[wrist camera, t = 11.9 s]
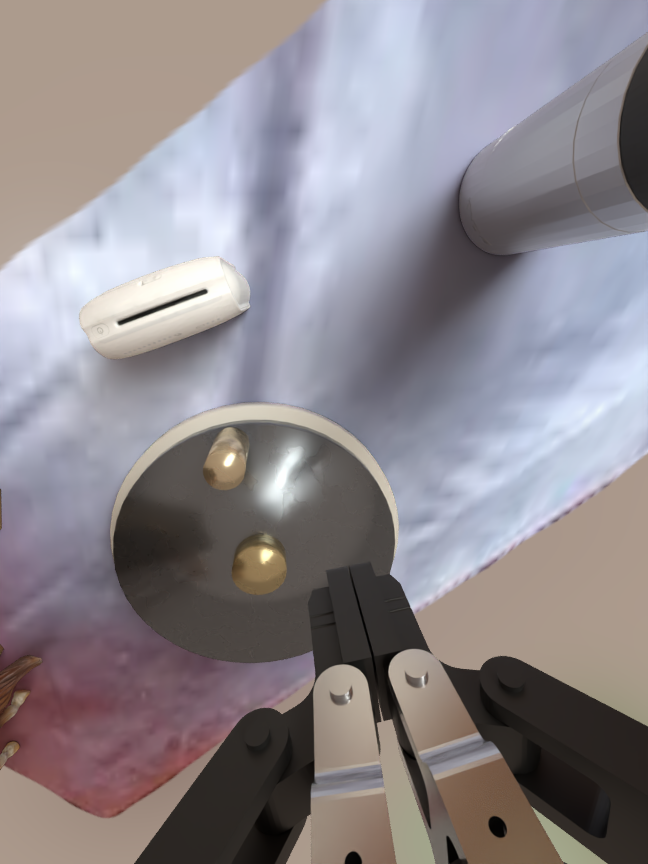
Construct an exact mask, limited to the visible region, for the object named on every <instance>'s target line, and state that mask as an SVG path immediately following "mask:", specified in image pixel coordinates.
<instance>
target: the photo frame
mask: <svg viewBox="0 0 648 864" xmlns="http://www.w3.org/2000/svg"><path fill="white" fill-rule="evenodd" d="M1 529H2V518H1V489H0V530H1ZM3 649H4V648H3V647H2V646H1V645H0V655H1V653H2V651H3Z"/></svg>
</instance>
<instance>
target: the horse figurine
mask: <svg viewBox="0 0 648 864" xmlns="http://www.w3.org/2000/svg"><path fill="white" fill-rule="evenodd" d="M41 663H42V660H41V658H38V657H34V656H32V655H27V656H23V657H21V658H19V659H18V660H16V661H15V662H14V663H12V664H11V665H9V666H8V667H7V668H5V669H4V670H3V671H1V672H0V728H1V727H2V726H3V725H4V724H5V723H6V722H7V721H8V720H9V719H10V718H12V717H13V716H14V715H15V714H16V712H17V711H18V708H19V707H20V705H22V704H23V703H24V701H25V699H26V697H27V696H28V695H29V694H30V691H29V690H18V691H16V692H15V693H14V697H13V699H12V701H11V704H12V705H10V706H8V707H7V708H6V709H5V707H6V706H7V704H8V702H9V701H10V698H11V695H12V691H13V689H14V687H15V685H16V684H17V682H18V681H19V680H20V679H21V678H22V677H23V676H25V675H26V674H27V673H28V672H29V671H30V670H32V669H33V668H34V667H36V666H38V665H40V664H41ZM4 709H5V710H4ZM2 712H3V713H2ZM18 749H19V744H18V743H17V742H13V741H12V742H9V743H8V744H7V745H6V746H5V748H4V750H3V751H2V754H0V770H1V768H2V767H3V766H4V764H5V763H6V761H7V759H8V758H9V757H11V756H13V755H14V753H16V752H17V750H18Z"/></svg>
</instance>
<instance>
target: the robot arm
mask: <svg viewBox="0 0 648 864" xmlns="http://www.w3.org/2000/svg"><path fill="white" fill-rule="evenodd" d="M459 211H460V218H461V221H462V224H463V227H464V230H465V232H466V233H467V235H468V237H469V238H470V240H471V241H472V242H473V243H474V244H475V245H476V246H477V247H479V248H480V249H482V250H484V251H485V252H488V253H491V254H494V255H511V254H517V253H523V252H528V251H536V250H542V249H547V248H553V247H559V246H565V245H570V244H576V243H582V242H588V241H593V240H599V239H605V238H611V237H616V236H622V235H628V234H634V233H639V232H645V231H648V32H647V33H646V34H644V35H643V36H641V37H640V38H638V39H637V40H636V41H634V42H633V43H631V44H630V45H629V46H627V47H626V48H625V49H623V50H622V51H621V52H619V53H618V54H616V55H615V56H614V57H612V58H611V59H609V60H608V61H606V62H605V63H604V64H602V65H601V66H599V67H598V68H597V69H595V70H594V71H592V72H591V73H589V74H588V75H587V76H585V77H584V78H582V79H581V80H580V81H578V82H577V83H575V84H574V85H572V86H571V87H570V88H568V89H567V90H565V91H564V92H563V93H561V94H560V95H558V96H557V97H555V98H554V99H553V100H551V101H550V102H548V103H547V104H546V105H544V106H543V107H541V108H540V109H538V110H537V111H536V112H534V113H533V114H531V115H530V116H529V117H527V118H526V119H524V120H523V121H521V122H520V123H519V124H517V125H516V126H514V127H513V128H511V129H510V130H508V131H507V132H506V133H504V134H503V135H502V136H500V137H499V138H497V139H496V140H495V141H493V142H492V143H490V144H489V145H488V146H486V147H485V148H483V149H482V150H481V152H480V153H479V154H478V155H477V156H476V157H475V158H474V159H473V161H472V162H471V164H470V166H469V167H468V169H467V171H466V173H465V176H464V178H463V181H462V185H461V189H460V194H459ZM349 573H350V575H349ZM326 574H327V579H328V585H329V587H324V588H319V589H314V590H313V591H312V594H311V596H310V599H309V601H308V608H309V617H310V627H311V636H312V645H313V654H314V663H315V675H316V677H315V682H314V686H313V688H312V690H311V692H310V693H309V695H308V696H307V697H306V698H305V699H304V701H302V702H301V703H300V704H298V705H297V706H295V707H294V708H292V709H291V710H289V711H287V712H285V713H284V714H281V713H280V712H278V711H277V710H274V709H271V708H260V709H257V710H254V711H252V712H250V713H248V714H247V715H245V716H244V717H243V718H242V719H241V720H240V721H239V722H238V723H237V724H236V726H235V727H234V728H233V730H232V731H231V733H230V734H229V735H228V737H227V738H226V739H225V741H224V742H223V743H222V745H221V746H220V747H219V749H218V750H217V752H216V753H215V754H214V756H213V757H212V758H211V760H210V761H209V762H208V764H207V765H206V767H205V768H204V769H203V771H202V772H201V773H200V775H199V776H198V778H197V779H196V780H195V782H194V783H193V784H192V786H191V787H190V788H189V790H188V791H187V793H186V794H185V795H184V797H183V798H182V799H181V801H180V802H179V803H178V805H177V806H176V807H175V809H174V810H173V812H172V813H171V814H170V816H169V817H168V818H167V820H166V821H165V822H164V824H163V825H162V827H161V828H160V829H159V831H158V832H157V833H156V835H155V836H154V838H153V839H152V840H151V841H150V843H149V845H148V846H147V847H146V848H145V850H144V851H143V852H142V854H141V855H140V857H139V858H138V859H137V861H136V862H135V863H134V864H286V862H287V860H288V858H289V856H290V854H291V852H292V850H293V848H294V846H295V844H296V842H297V840H298V838H299V835H300V834H301V832H302V829H303V827H304V825H305V822H306V819H307V816H308V815H310V814H311V864H396V859H395V851H394V845H393V839H392V832H391V827H390V820H389V813H388V807H387V801H386V794H385V789H384V782H383V776H382V770H381V764H380V757H379V756H380V741H379V734H378V728H377V723H378V722H381V716H380V710H379V705H380V708H381V712H382V716H383V720H384V721H385V720H390V719H392V720H393V724H394V727H395V731H396V735H397V742H398V749H399V753H400V756H401V758H402V761H403V764H404V767H405V770H406V773H407V776H408V779H409V782H410V785H411V787H412V790H413V793H414V796H415V799H416V802H417V805H418V807H419V810H420V813H421V816H422V819H423V822H424V825H425V828H426V831H427V833H428V837H429V840H430V843H431V847H432V851H433V854H434V859H435V863H436V864H567V863H565V862H563V861H562V860H561V858H560V856H559V854H558V852H557V851H556V849H555V847H554V845H553V844H552V842H551V840H550V838H549V837H548V835H547V833H546V831H545V830H544V828H543V826H542V825H541V823H540V821H539V819H538V818H537V816H536V814H535V812H534V810H533V809H532V807H533V808H535V809H536V810H537V811H538V812H540V813H541V814H542V815H544V816H545V817H546V818H548V819H549V820H550V821H552V822H553V823H554V824H556V825H557V826H558V827H560V828H561V829H562V830H564V831H565V832H566V833H568V834H569V835H570V836H572V837H573V838H574V839H576V840H577V841H578V842H580V843H581V844H582V845H584V846H585V847H586V848H588V849H589V850H590V851H592V852H593V853H594V854H596V855H597V856H598V857H600V858H601V859H602V860H604V861H605V862H606V863H608V864H648V726H646V725H643V724H642V723H640V722H638V721H636V720H634V719H632V718H630V717H628V716H627V715H625V714H623V713H621V712H619V711H617V710H615V709H613V708H611V707H609V706H607V705H605V704H603V703H601V702H600V701H598V700H596V699H594V698H592V697H590V696H588V695H586V694H584V693H582V692H580V691H578V690H577V689H575V688H573V687H571V686H569V685H567V684H565V683H563V682H561V681H559V680H557V679H555V678H553V677H551V676H549V675H548V674H546V673H544V672H542V671H540V670H538V669H536V668H534V667H532V666H530V665H528V664H527V663H524V662H523V661H521V660H518V659H516V658H512V657H507V656H498V657H494V658H491V659H489V660H488V661H486V662H485V663H484V664H483V665H482V667H481V669H480V670H469V669H459V668H454V667H451V666H448V665H446V664H444V663H443V662H441V661H440V660H438V659H437V658H436V657H435V656H434V655H433V654H432V653H431V652H430V650H429V648H428V646H427V644H426V641H425V639H424V637H423V634H422V632H421V630H420V628H419V625H418V623H417V621H416V619H415V616H414V614H413V612H412V609H411V608H410V605H409V602H408V600H407V598H406V596H405V593H404V591H403V589H402V586H401V584H400V583H399V582H398V581H397V580H396V579H395V578H393V577H392V576H391V575H390V574H386V575H381V576H375V573H374V570H373V567H372V565H371V562H370V561H368V562H363V563H358V564H354V565H349V571H348V567H347V566H344V567H339V568H334V569H330V570H326ZM378 701H379V703H378ZM531 806H532V807H531Z"/></svg>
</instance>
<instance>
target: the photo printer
mask: <svg viewBox="0 0 648 864" xmlns="http://www.w3.org/2000/svg"><path fill="white" fill-rule="evenodd" d="M249 300H250V288H249V285H248V282H247V281H246V279H245V278H244V276H243V275H242V274H240V273H239V272H237V271H236V269H235V266H234V265H232V264H230V263H229V262H227V261H226V260H224V259H223V258H221V257H219V256H217V257H207V258H206V257H203V258H198V259H195V260H191V261H188V262H184V263H180V264H177V265H174V266H171V267H168V268H165V269H162V270H159V271H156V272H153V273H151V274H148V275H145V276H142V277H140V278H137V279H135V280H132V281H129V282H127V283H125V284H122V285H120V286H117V287H115V288H113V289H111V290H108V291H106V292H104V293H103V294H102V295H99V296H98V297H96V298H94V299H93V300H91V301H90V302H88V303H87V304H86V305H85V306H84V307H82V309H81V311H80V313H79V320H80V325H81V328H82V329H83V330H84V332H85V333H86V334H87V336H88V338H89V340H90V343H91V345H92V346H93V348H94V349H95V350H96V351H97V352H98V353H100V354H101V355H103V356H104V357H106V358H108V359H121V358H127V357H132V356H135V355H138V354H142V353H145V352H148V351H151V350H154V349H157V348H160V347H162V346H165V345H168V344H171V343H174V342H176V341H179V340H182V339H184V338H187V337H189V336H192V335H195V334H197V333H200V332H202V331H205V330H207V329H210V328H212V327H214V326H217V325H219V324H221V323H224V322H226V321H228V320H230V319H232V318H234V317H236V316H238V315H239V314H241V313H243V312H244V311H246V310H247V309H249V308H250V304H249Z"/></svg>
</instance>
